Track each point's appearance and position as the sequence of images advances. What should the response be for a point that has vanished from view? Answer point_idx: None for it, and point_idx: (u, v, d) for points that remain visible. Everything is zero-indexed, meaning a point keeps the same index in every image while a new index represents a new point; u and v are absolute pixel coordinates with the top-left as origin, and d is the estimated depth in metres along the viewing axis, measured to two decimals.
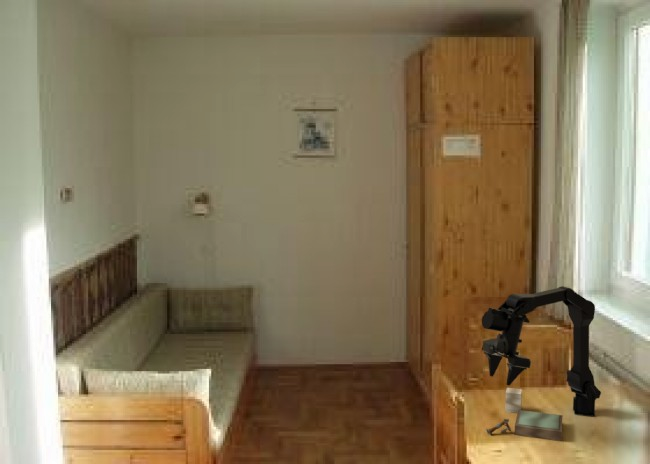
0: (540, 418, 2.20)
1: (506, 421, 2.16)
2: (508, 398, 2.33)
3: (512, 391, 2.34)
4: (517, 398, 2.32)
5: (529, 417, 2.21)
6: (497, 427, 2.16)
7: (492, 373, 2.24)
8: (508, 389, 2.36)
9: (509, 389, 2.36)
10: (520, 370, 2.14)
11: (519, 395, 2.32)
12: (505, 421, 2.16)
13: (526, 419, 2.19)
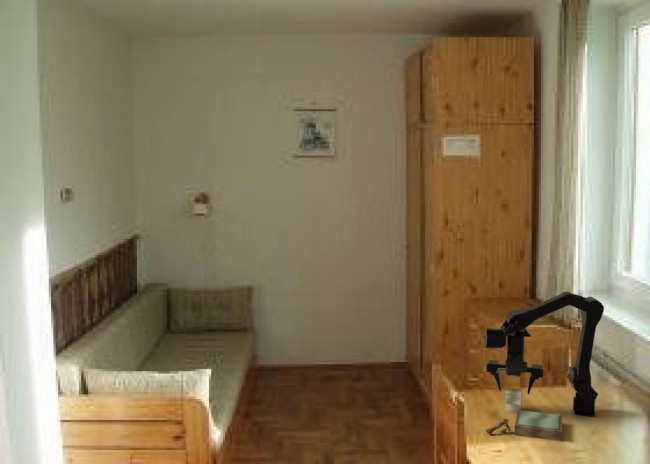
0: (540, 418, 2.20)
1: (506, 421, 2.16)
2: (508, 398, 2.33)
3: (512, 391, 2.34)
4: (517, 398, 2.32)
5: (529, 417, 2.21)
6: (497, 427, 2.16)
7: None
8: (508, 389, 2.36)
9: (509, 389, 2.36)
10: None
11: (519, 395, 2.32)
12: (505, 421, 2.16)
13: (526, 419, 2.19)
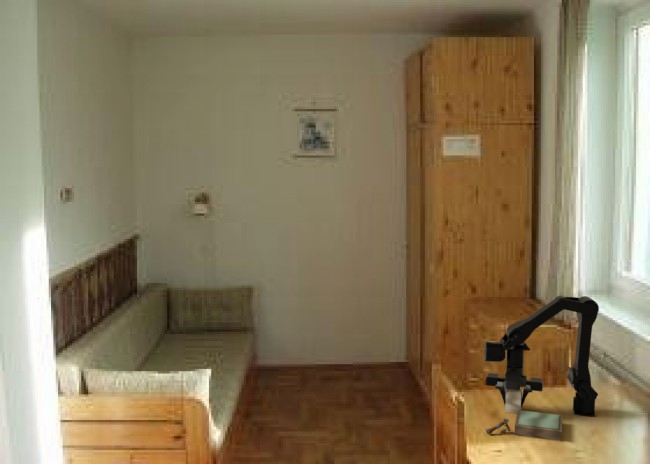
0: (540, 418, 2.20)
1: (506, 421, 2.16)
2: (508, 398, 2.33)
3: (512, 391, 2.34)
4: (517, 398, 2.32)
5: (529, 417, 2.21)
6: (497, 427, 2.16)
7: None
8: (508, 389, 2.36)
9: (509, 389, 2.36)
10: None
11: (519, 395, 2.32)
12: (505, 421, 2.16)
13: (526, 419, 2.19)
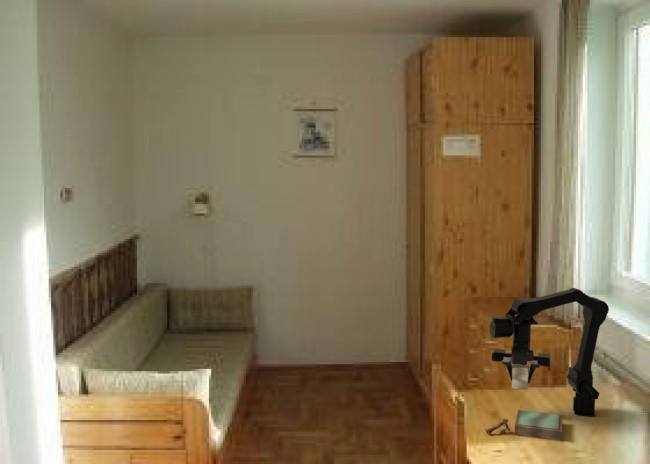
0: (540, 418, 2.20)
1: (505, 421, 2.16)
2: (515, 373, 2.28)
3: (519, 367, 2.29)
4: (524, 374, 2.27)
5: (529, 417, 2.21)
6: (496, 427, 2.16)
7: None
8: (515, 365, 2.31)
9: (516, 365, 2.31)
10: None
11: (526, 370, 2.27)
12: (504, 421, 2.16)
13: (526, 419, 2.19)
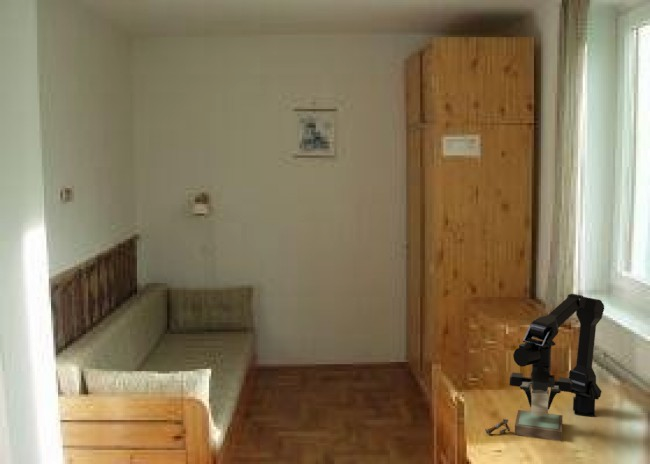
0: (540, 418, 2.20)
1: (505, 421, 2.16)
2: (534, 399, 2.16)
3: (539, 392, 2.17)
4: (544, 399, 2.15)
5: (529, 417, 2.21)
6: (496, 427, 2.16)
7: None
8: (534, 390, 2.19)
9: (535, 390, 2.19)
10: None
11: (546, 396, 2.15)
12: (504, 421, 2.16)
13: (526, 419, 2.19)
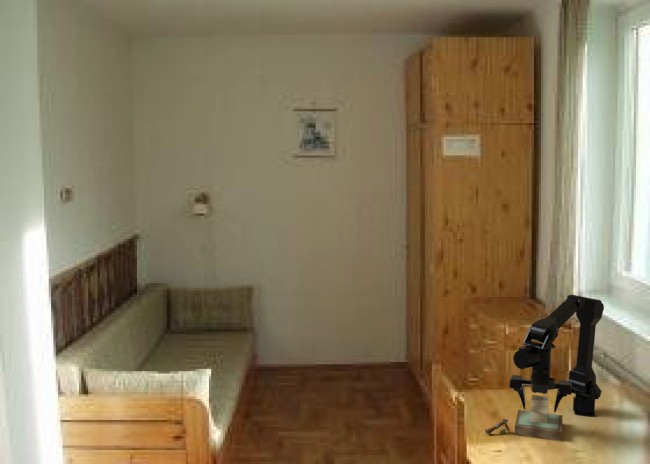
0: None
1: (505, 421, 2.16)
2: (534, 406, 2.17)
3: (538, 399, 2.17)
4: (544, 406, 2.16)
5: (529, 417, 2.21)
6: (496, 427, 2.16)
7: None
8: (533, 396, 2.20)
9: (534, 396, 2.20)
10: None
11: (546, 403, 2.15)
12: (504, 421, 2.16)
13: (526, 419, 2.19)
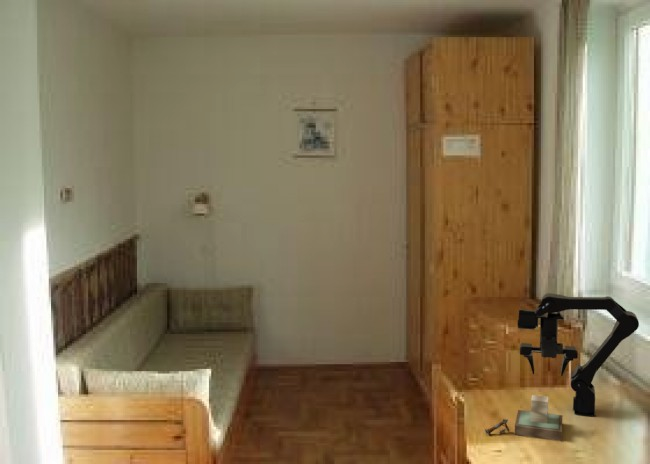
0: None
1: (505, 421, 2.16)
2: (534, 406, 2.17)
3: (538, 399, 2.17)
4: (544, 406, 2.16)
5: (529, 417, 2.21)
6: (496, 427, 2.16)
7: None
8: (533, 396, 2.20)
9: (534, 396, 2.20)
10: None
11: (546, 403, 2.15)
12: (504, 421, 2.16)
13: (526, 419, 2.19)
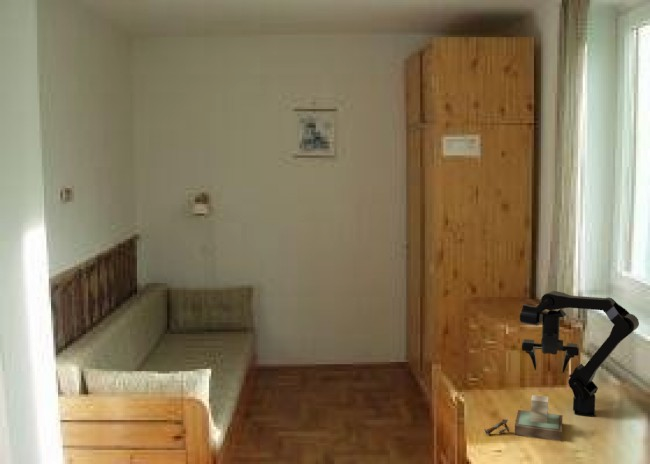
0: None
1: (504, 421, 2.16)
2: (534, 406, 2.17)
3: (538, 399, 2.17)
4: (544, 406, 2.16)
5: (529, 417, 2.21)
6: (495, 427, 2.16)
7: None
8: (533, 396, 2.20)
9: (534, 396, 2.20)
10: None
11: (546, 403, 2.15)
12: (503, 421, 2.16)
13: (526, 419, 2.19)
